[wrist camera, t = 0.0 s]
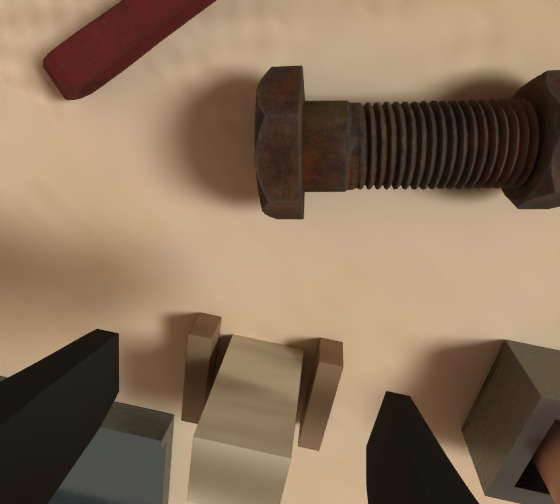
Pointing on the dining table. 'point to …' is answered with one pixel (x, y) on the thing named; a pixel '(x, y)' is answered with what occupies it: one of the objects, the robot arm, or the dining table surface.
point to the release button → (550, 460)
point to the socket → (203, 371)
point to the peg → (247, 426)
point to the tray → (123, 460)
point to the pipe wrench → (115, 43)
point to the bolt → (405, 144)
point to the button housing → (514, 422)
